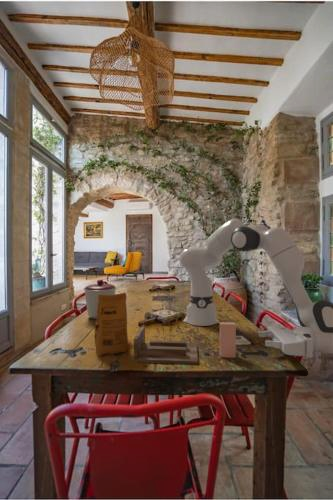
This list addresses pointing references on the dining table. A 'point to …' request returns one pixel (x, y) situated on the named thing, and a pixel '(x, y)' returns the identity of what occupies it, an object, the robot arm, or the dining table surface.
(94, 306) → the canister
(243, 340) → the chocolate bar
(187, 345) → the rack
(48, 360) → the dining table surface
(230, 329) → the tile
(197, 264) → the robot arm
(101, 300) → the coffee package
